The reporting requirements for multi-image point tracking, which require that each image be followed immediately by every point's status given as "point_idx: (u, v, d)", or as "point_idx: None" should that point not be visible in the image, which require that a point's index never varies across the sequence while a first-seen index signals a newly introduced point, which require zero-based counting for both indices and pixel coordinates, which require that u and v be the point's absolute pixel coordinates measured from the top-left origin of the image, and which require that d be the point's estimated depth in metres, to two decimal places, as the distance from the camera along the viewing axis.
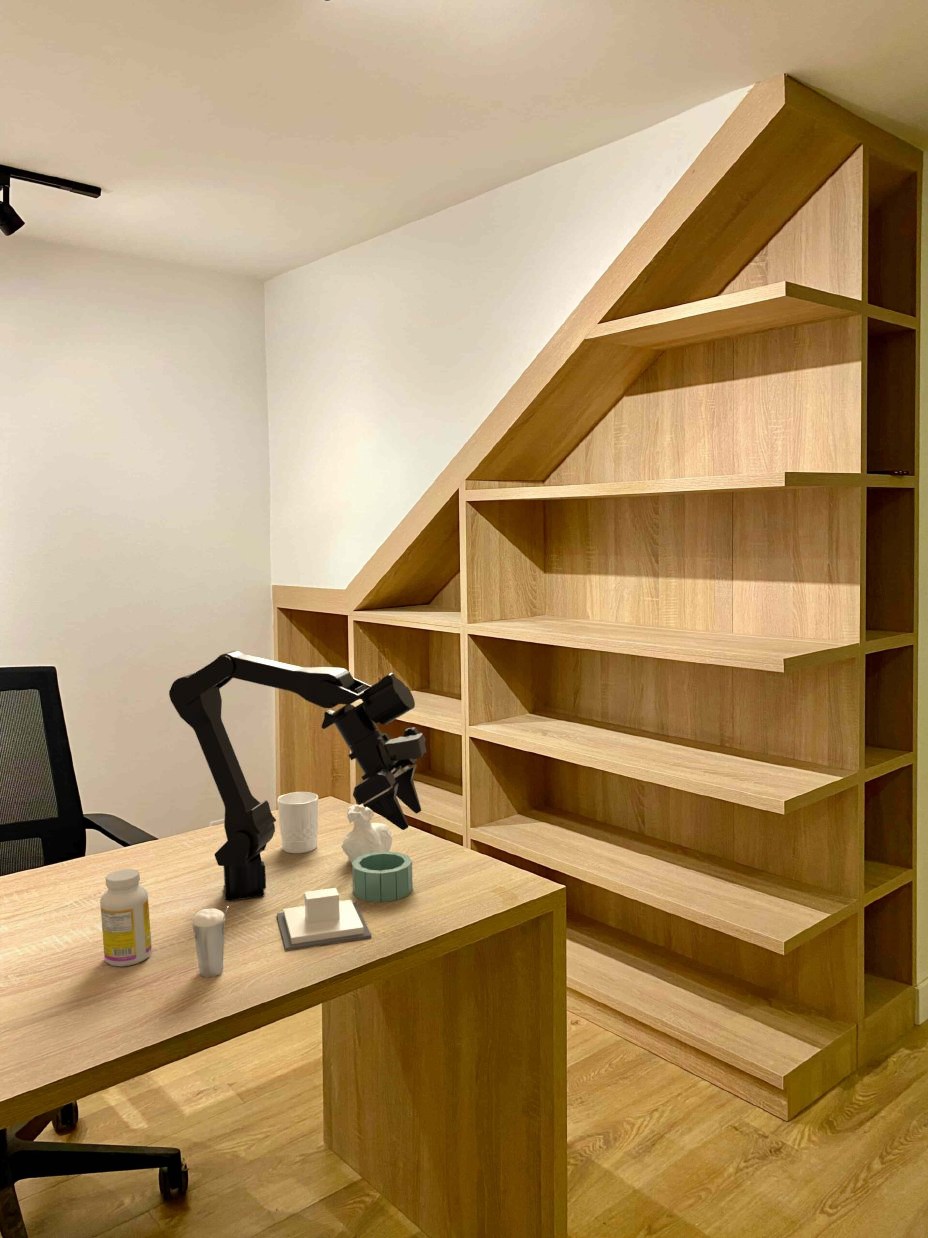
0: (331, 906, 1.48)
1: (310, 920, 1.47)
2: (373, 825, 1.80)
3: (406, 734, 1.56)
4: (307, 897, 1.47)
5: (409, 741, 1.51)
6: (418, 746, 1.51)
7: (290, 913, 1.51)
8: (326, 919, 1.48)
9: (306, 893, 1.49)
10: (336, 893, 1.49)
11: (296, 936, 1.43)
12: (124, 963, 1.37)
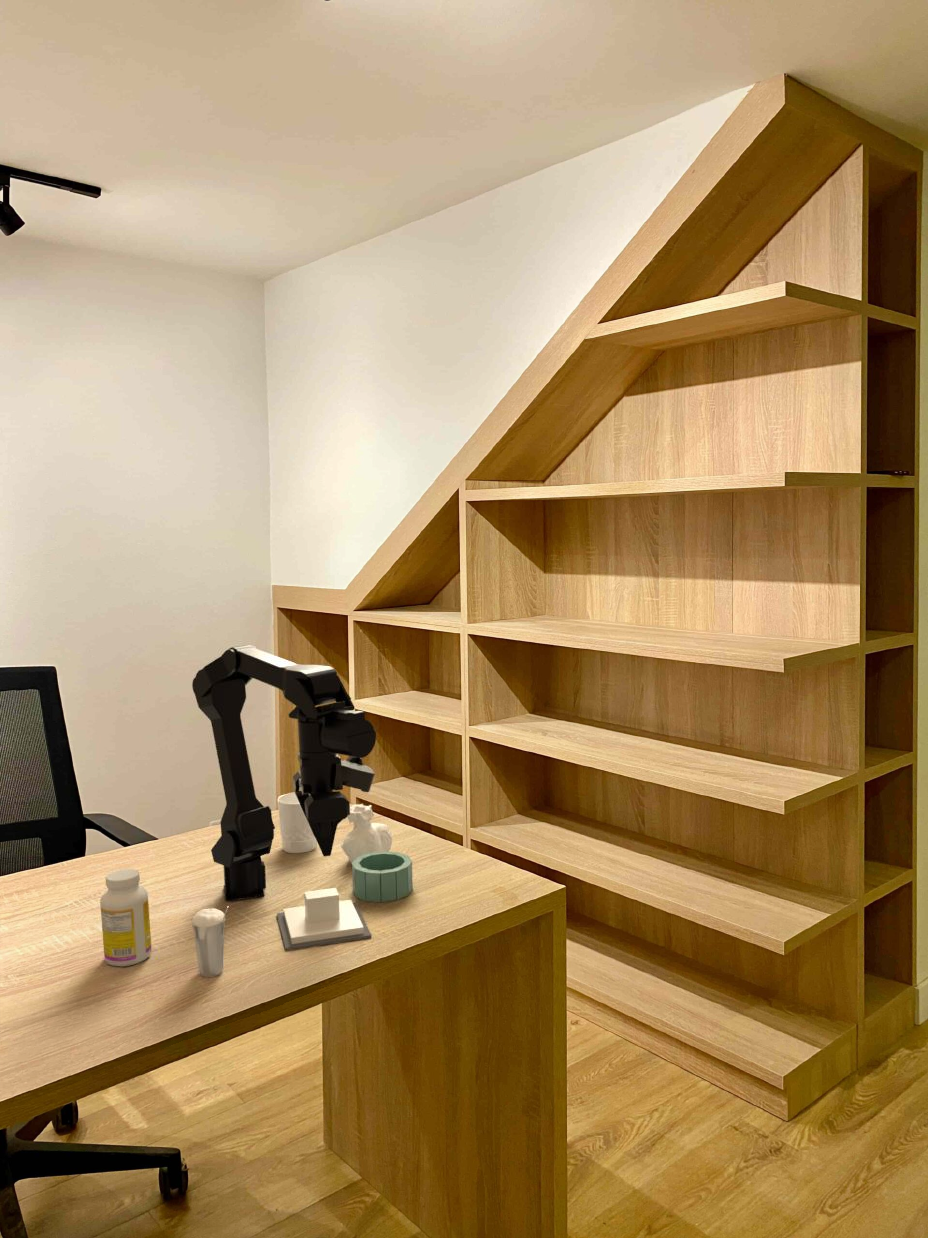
0: (331, 906, 1.48)
1: (310, 920, 1.47)
2: (373, 825, 1.80)
3: (352, 760, 1.51)
4: (307, 897, 1.47)
5: (367, 773, 1.47)
6: None
7: (290, 913, 1.51)
8: (326, 919, 1.48)
9: (306, 893, 1.49)
10: (336, 893, 1.49)
11: (296, 936, 1.43)
12: (124, 963, 1.37)
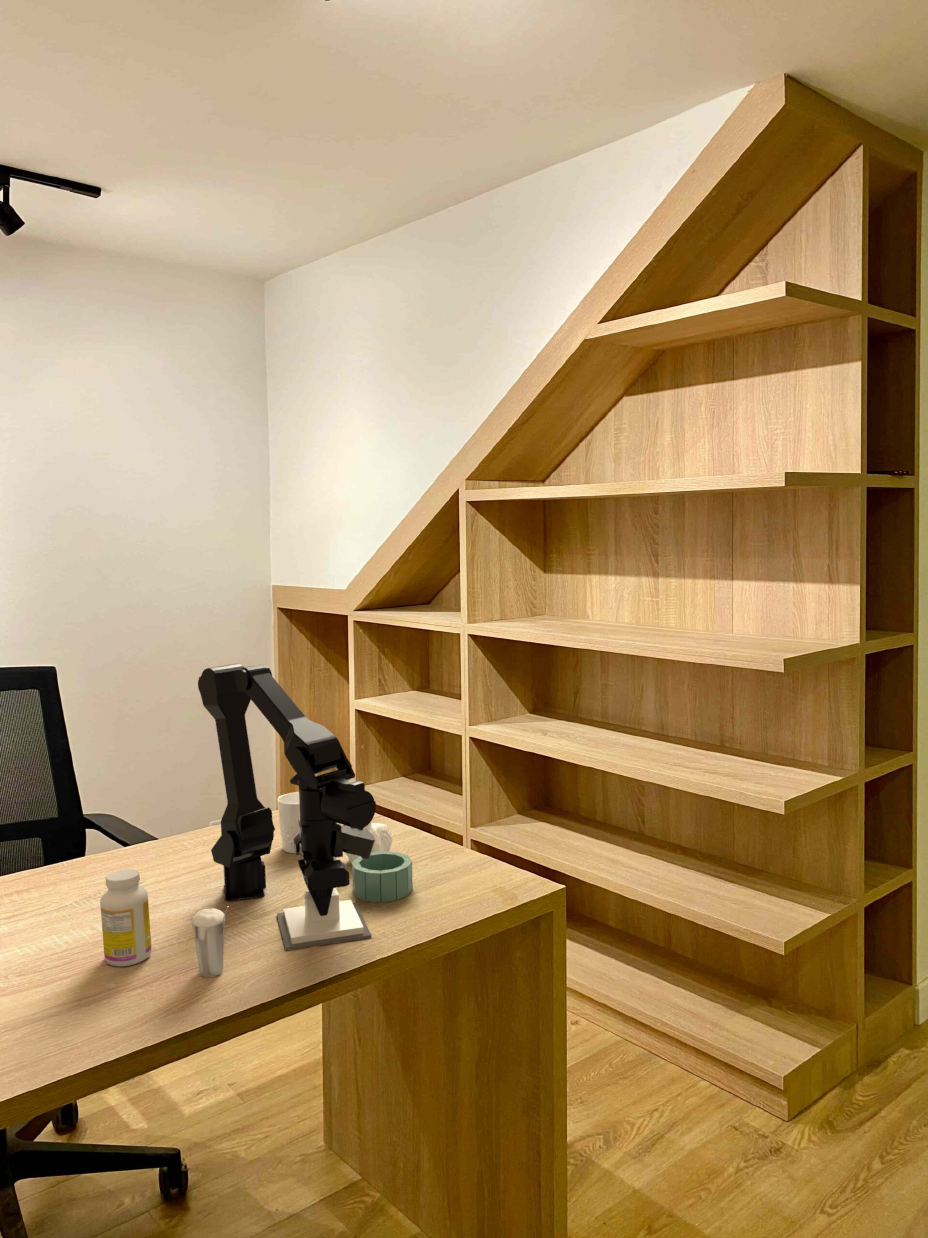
0: (331, 906, 1.48)
1: (310, 920, 1.47)
2: (373, 825, 1.80)
3: None
4: (307, 897, 1.47)
5: (367, 840, 1.48)
6: (372, 847, 1.49)
7: (291, 913, 1.51)
8: (326, 919, 1.48)
9: (306, 893, 1.49)
10: (336, 893, 1.49)
11: (296, 936, 1.43)
12: (124, 963, 1.37)
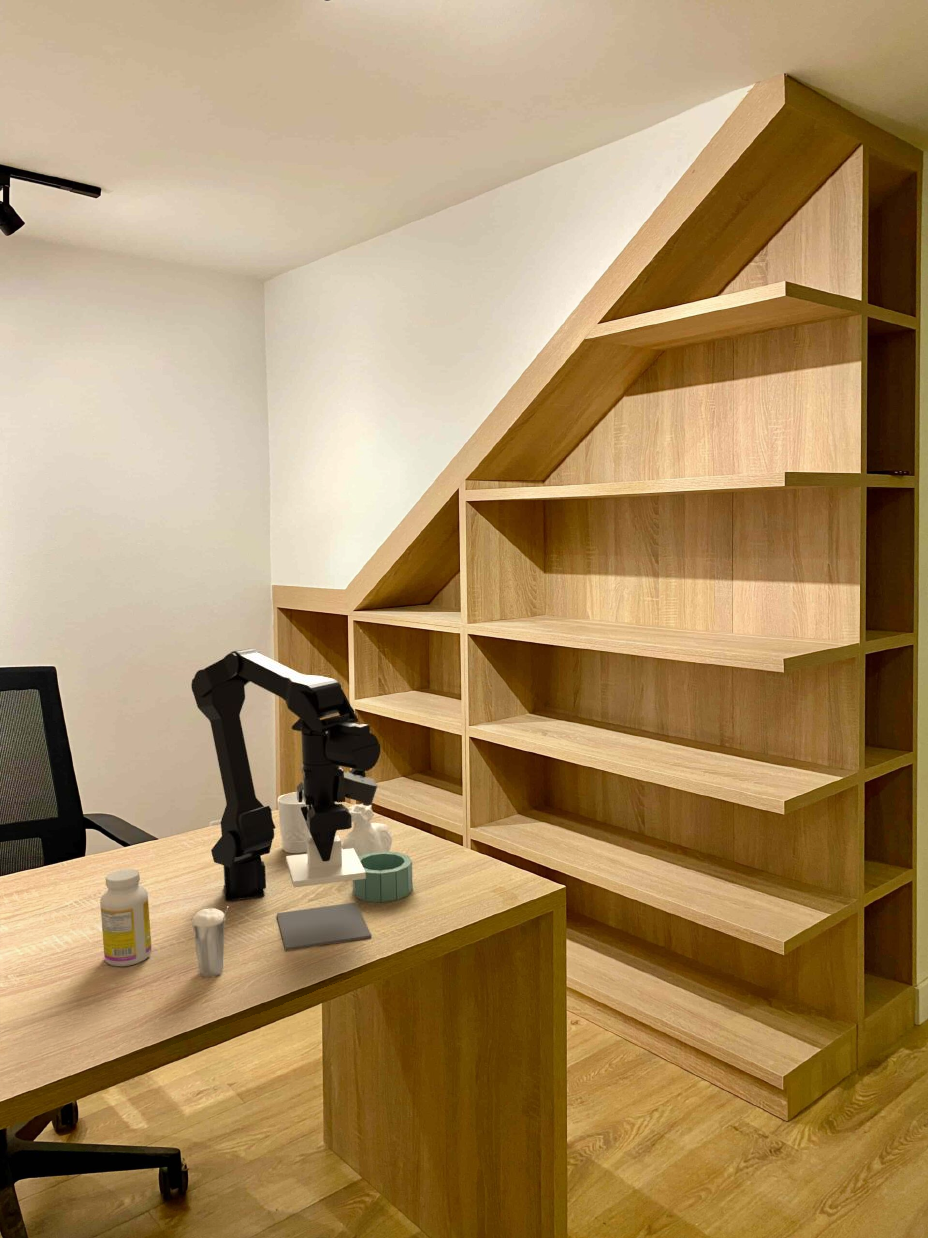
0: (333, 852, 1.48)
1: (312, 866, 1.47)
2: (373, 825, 1.80)
3: (355, 772, 1.52)
4: (309, 842, 1.47)
5: (370, 785, 1.48)
6: (374, 793, 1.48)
7: (293, 860, 1.51)
8: (328, 864, 1.48)
9: (308, 839, 1.49)
10: (338, 839, 1.49)
11: (298, 880, 1.43)
12: (124, 963, 1.37)
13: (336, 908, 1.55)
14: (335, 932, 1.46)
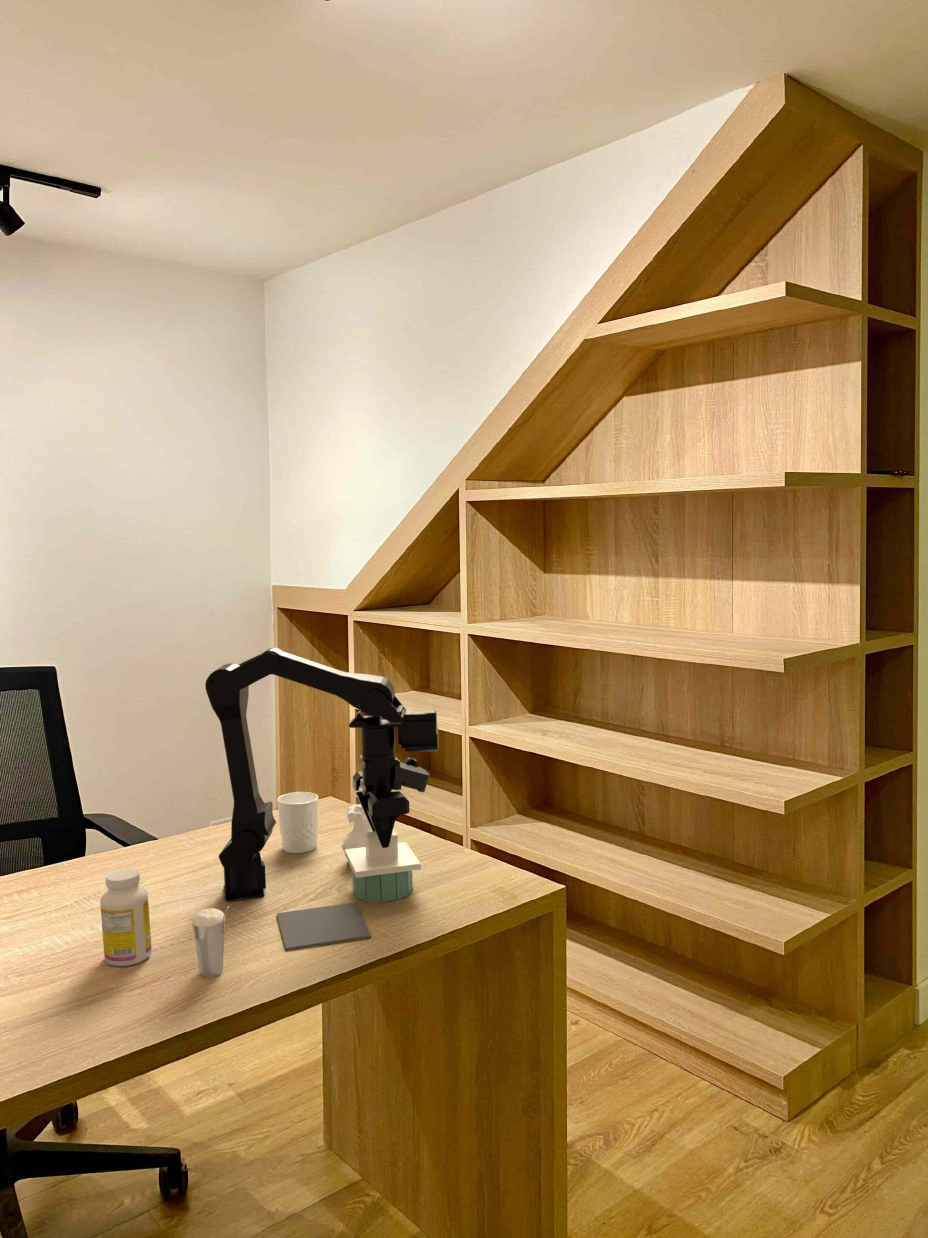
0: (390, 845, 1.61)
1: (371, 858, 1.61)
2: None
3: (408, 763, 1.65)
4: (368, 837, 1.61)
5: (423, 775, 1.61)
6: (427, 782, 1.62)
7: (352, 853, 1.64)
8: (385, 856, 1.61)
9: (367, 833, 1.62)
10: (394, 833, 1.62)
11: (360, 870, 1.56)
12: (124, 963, 1.37)
13: (336, 908, 1.55)
14: (335, 932, 1.46)
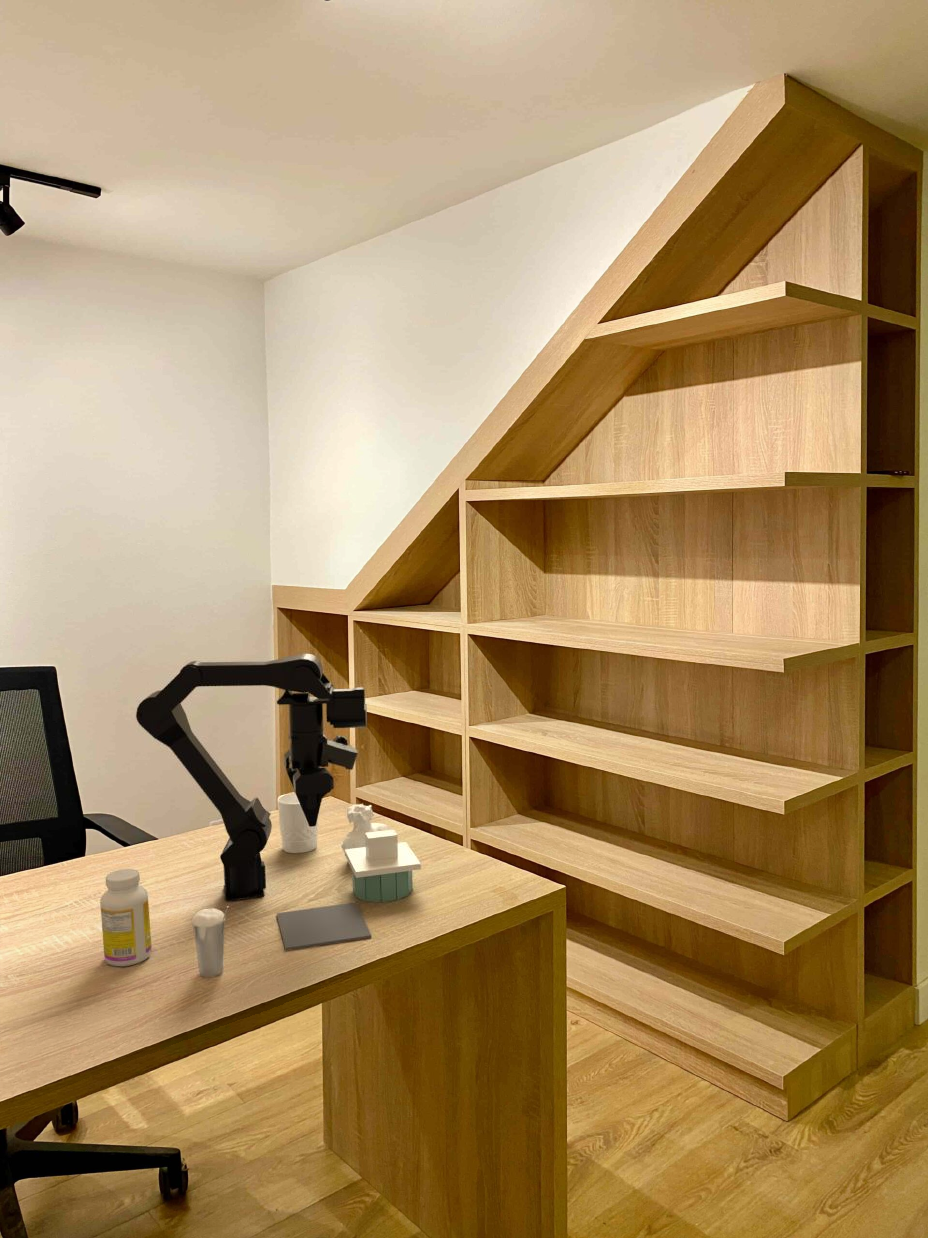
0: (390, 845, 1.61)
1: (371, 858, 1.61)
2: (373, 825, 1.80)
3: (338, 741, 1.65)
4: (368, 837, 1.61)
5: (351, 752, 1.61)
6: (355, 759, 1.62)
7: (352, 853, 1.64)
8: (385, 856, 1.61)
9: (367, 833, 1.62)
10: (394, 833, 1.62)
11: (360, 870, 1.56)
12: (124, 963, 1.37)
13: (336, 908, 1.55)
14: (335, 932, 1.46)
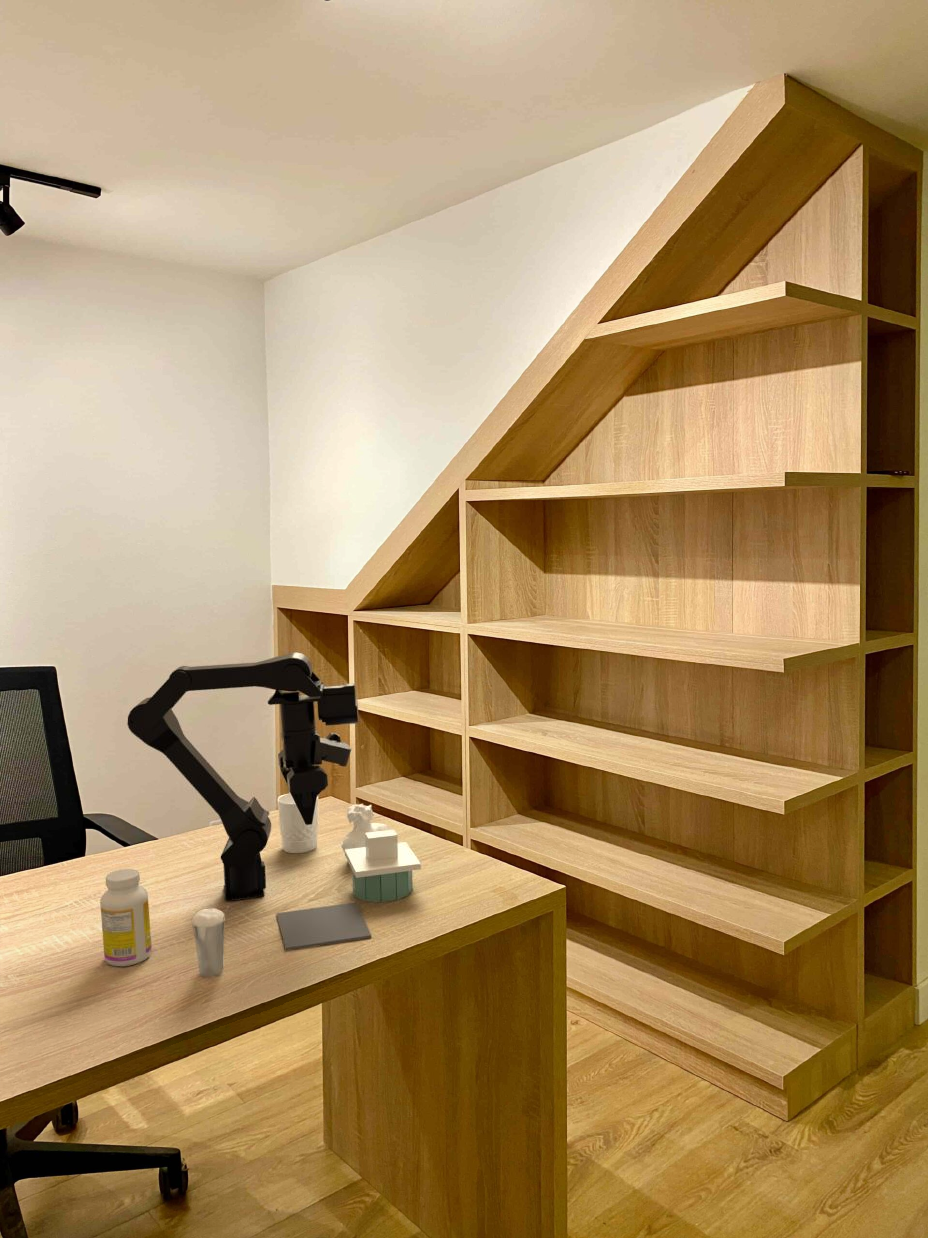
0: (390, 845, 1.61)
1: (371, 858, 1.61)
2: (373, 825, 1.80)
3: (331, 738, 1.66)
4: (368, 837, 1.61)
5: (344, 749, 1.61)
6: None
7: (352, 853, 1.64)
8: (385, 856, 1.61)
9: (367, 833, 1.62)
10: (394, 833, 1.62)
11: (360, 870, 1.56)
12: (124, 963, 1.37)
13: (336, 908, 1.55)
14: (335, 932, 1.46)
